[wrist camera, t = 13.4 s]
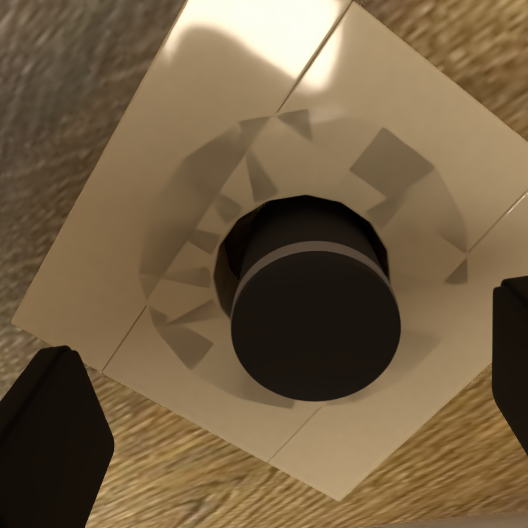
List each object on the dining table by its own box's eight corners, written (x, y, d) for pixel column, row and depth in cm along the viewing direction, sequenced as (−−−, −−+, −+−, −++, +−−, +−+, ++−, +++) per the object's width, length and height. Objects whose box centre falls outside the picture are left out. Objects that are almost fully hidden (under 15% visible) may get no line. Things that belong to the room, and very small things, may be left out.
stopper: (222, 260, 19) (196, 351, 13) (292, 162, 17) (296, 220, 11) (318, 320, 19) (331, 429, 14) (393, 233, 18) (441, 318, 12)
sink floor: (47, 283, 19) (8, 323, 17) (245, -70, 14) (236, -96, 11) (332, 446, 22) (339, 503, 19) (581, 200, 17) (638, 230, 14)
